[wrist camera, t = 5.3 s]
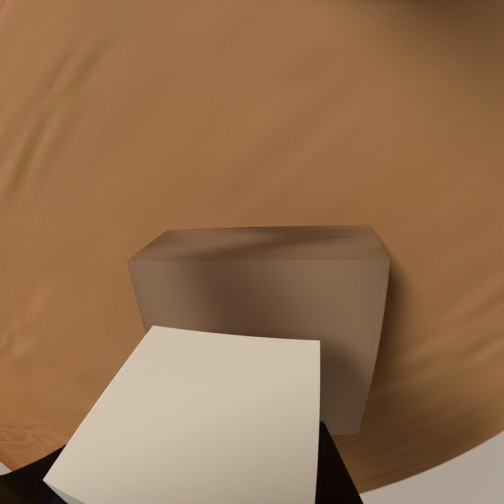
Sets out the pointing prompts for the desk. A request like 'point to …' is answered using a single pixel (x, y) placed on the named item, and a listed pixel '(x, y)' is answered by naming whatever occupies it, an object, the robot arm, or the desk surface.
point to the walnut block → (277, 297)
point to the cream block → (200, 425)
